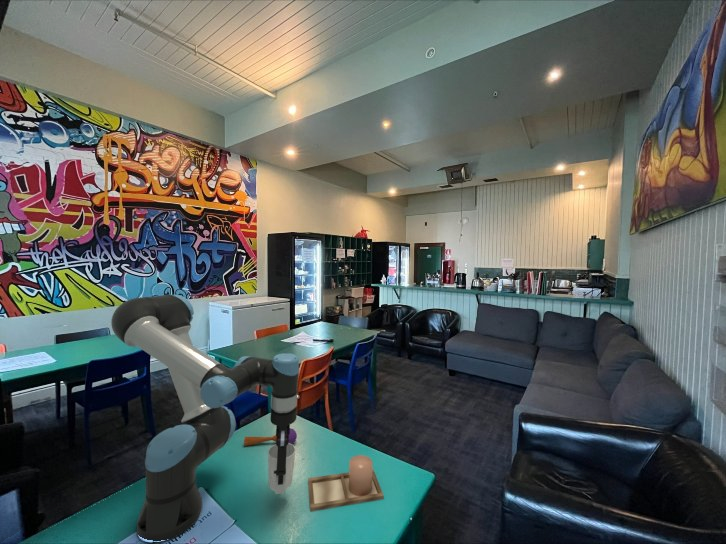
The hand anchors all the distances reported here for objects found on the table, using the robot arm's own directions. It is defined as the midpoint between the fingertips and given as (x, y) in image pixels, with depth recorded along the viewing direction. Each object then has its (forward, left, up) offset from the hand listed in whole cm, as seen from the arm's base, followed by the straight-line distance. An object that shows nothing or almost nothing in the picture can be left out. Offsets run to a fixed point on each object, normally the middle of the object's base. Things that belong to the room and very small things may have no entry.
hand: (280, 482), depth 88 cm
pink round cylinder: (+25, 0, -5) cm, 25 cm away
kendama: (-5, +31, -7) cm, 32 cm away
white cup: (0, 0, -1) cm, 1 cm away
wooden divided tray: (+20, 0, -6) cm, 21 cm away
